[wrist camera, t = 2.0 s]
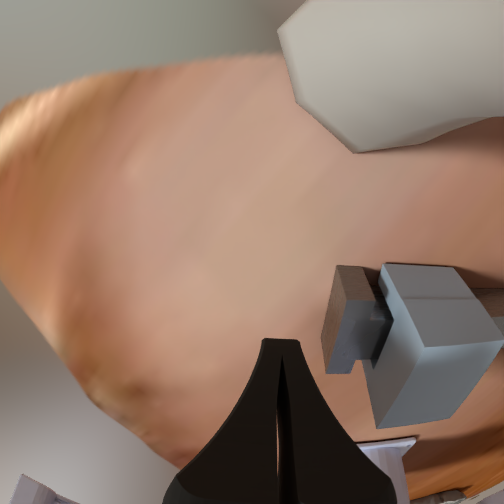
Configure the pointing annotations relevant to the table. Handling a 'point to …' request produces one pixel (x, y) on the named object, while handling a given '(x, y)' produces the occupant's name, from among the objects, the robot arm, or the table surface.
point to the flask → (396, 67)
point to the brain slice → (441, 498)
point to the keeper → (428, 346)
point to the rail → (371, 319)
